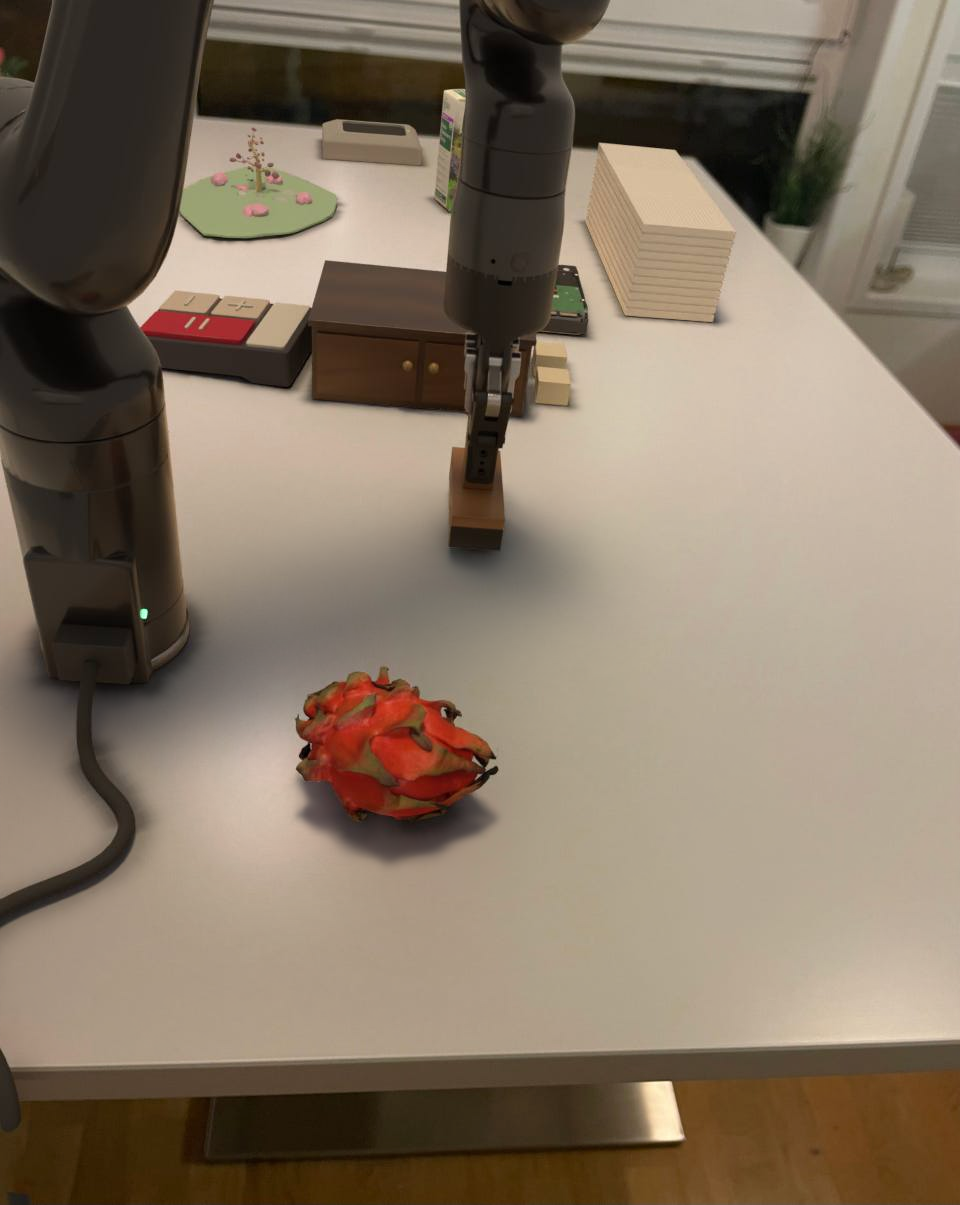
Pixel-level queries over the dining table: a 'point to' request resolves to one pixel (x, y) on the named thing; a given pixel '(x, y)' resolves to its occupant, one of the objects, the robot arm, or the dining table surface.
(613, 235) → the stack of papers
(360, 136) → the beige low box
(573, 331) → the disk drive
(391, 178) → the dining table surface
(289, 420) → the dining table surface
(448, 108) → the syrup box
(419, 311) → the cabinet
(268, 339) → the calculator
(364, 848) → the dining table surface
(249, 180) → the plant
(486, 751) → the dragon fruit
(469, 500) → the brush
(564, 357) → the wooden block
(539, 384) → the wooden block
